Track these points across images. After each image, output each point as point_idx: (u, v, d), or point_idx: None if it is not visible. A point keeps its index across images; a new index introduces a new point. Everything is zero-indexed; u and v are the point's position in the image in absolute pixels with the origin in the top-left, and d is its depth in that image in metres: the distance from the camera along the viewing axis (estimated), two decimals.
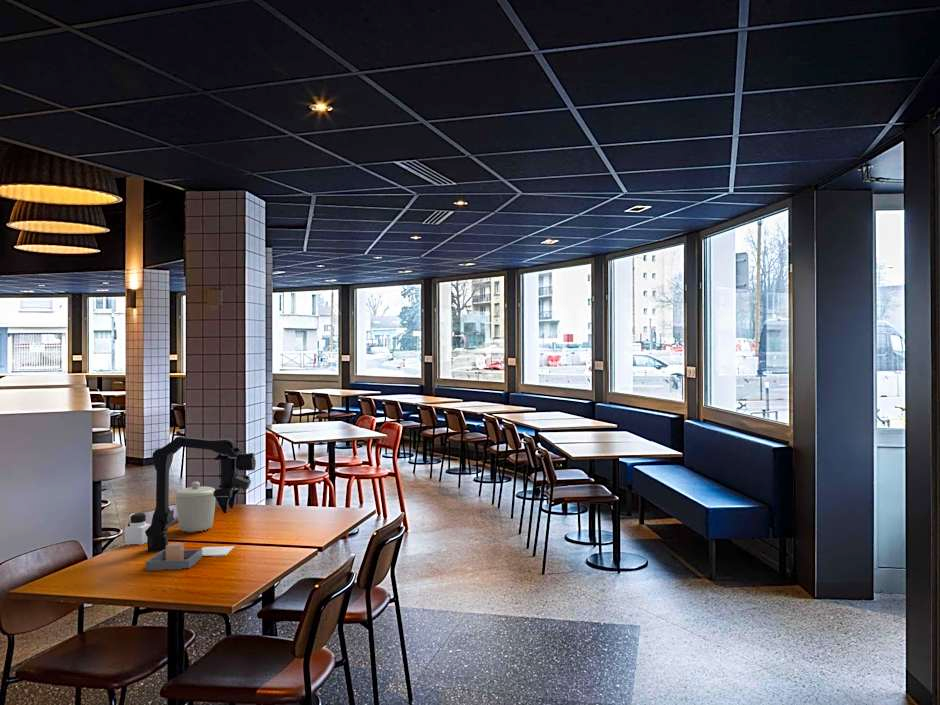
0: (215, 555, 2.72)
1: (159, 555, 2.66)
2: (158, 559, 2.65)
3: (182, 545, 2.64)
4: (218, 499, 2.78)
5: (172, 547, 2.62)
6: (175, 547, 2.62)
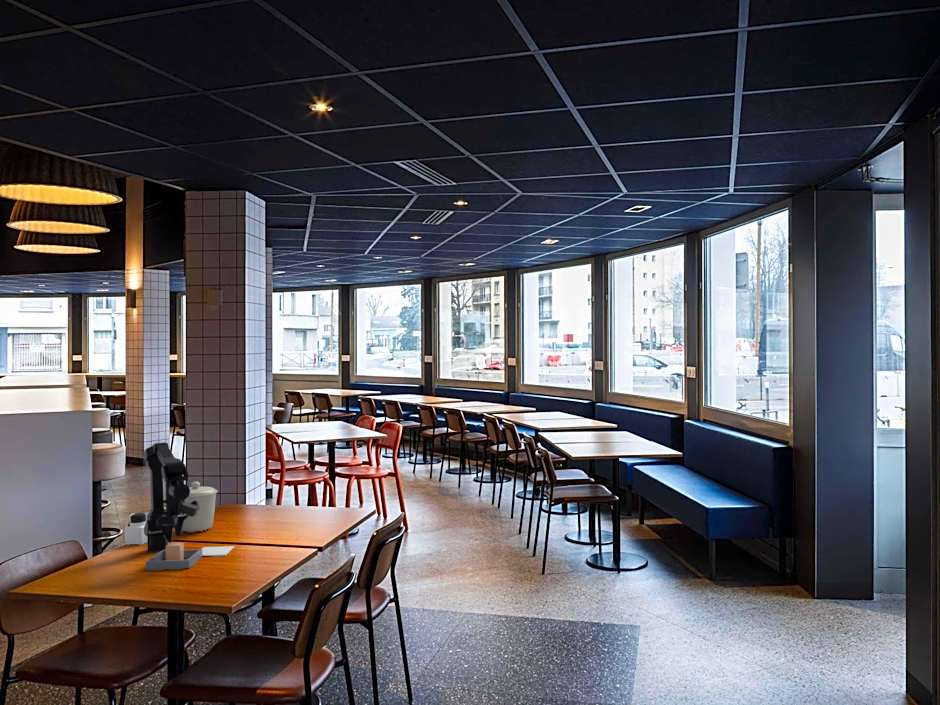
0: (215, 555, 2.72)
1: (159, 555, 2.66)
2: (158, 559, 2.65)
3: (182, 545, 2.64)
4: (162, 527, 2.57)
5: (172, 547, 2.62)
6: (175, 547, 2.62)
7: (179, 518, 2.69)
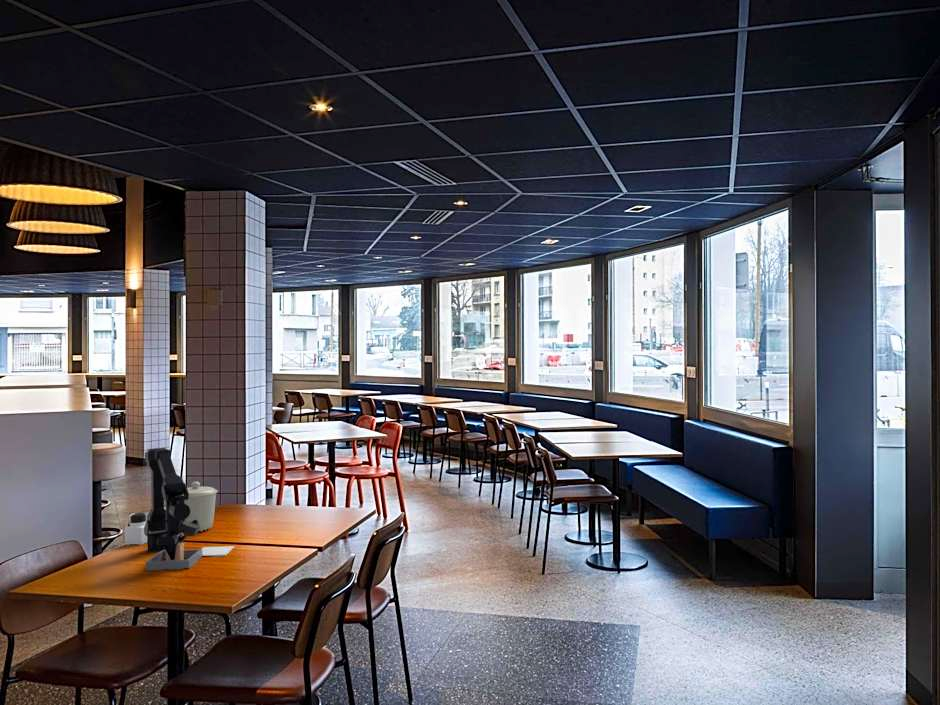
0: (215, 555, 2.72)
1: (159, 555, 2.66)
2: (158, 559, 2.65)
3: (182, 545, 2.64)
4: (165, 545, 2.59)
5: None
6: None
7: (177, 539, 2.66)
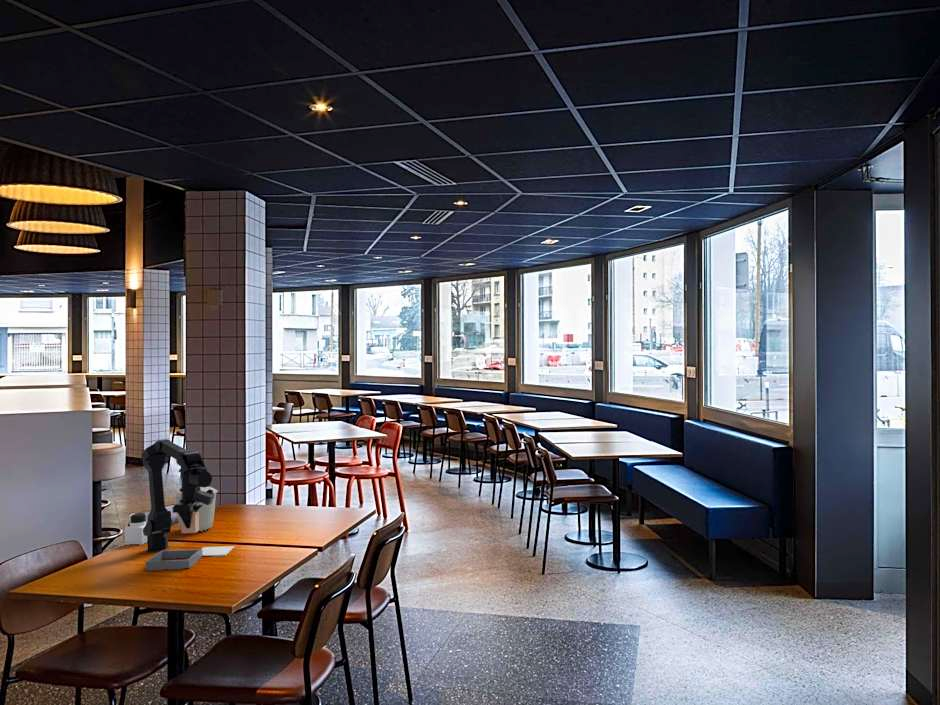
0: (215, 555, 2.72)
1: (159, 555, 2.66)
2: (158, 559, 2.65)
3: (197, 514, 2.70)
4: (180, 514, 2.65)
5: None
6: None
7: (192, 508, 2.72)
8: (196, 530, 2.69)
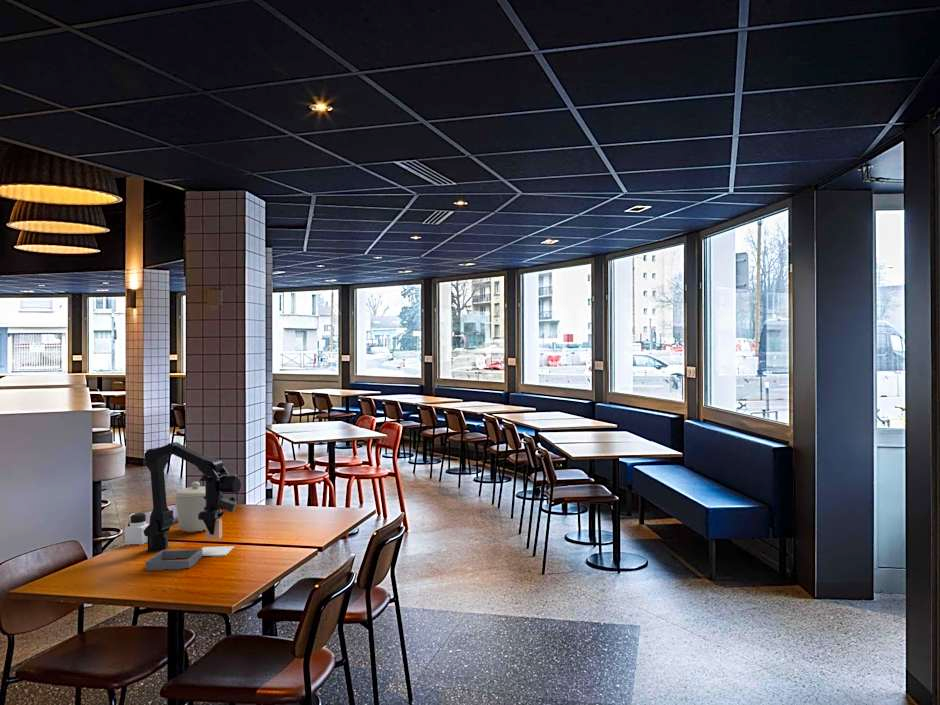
0: (215, 555, 2.72)
1: (159, 555, 2.66)
2: (158, 559, 2.65)
3: (221, 520, 2.79)
4: (205, 520, 2.74)
5: None
6: None
7: None
8: (220, 536, 2.77)
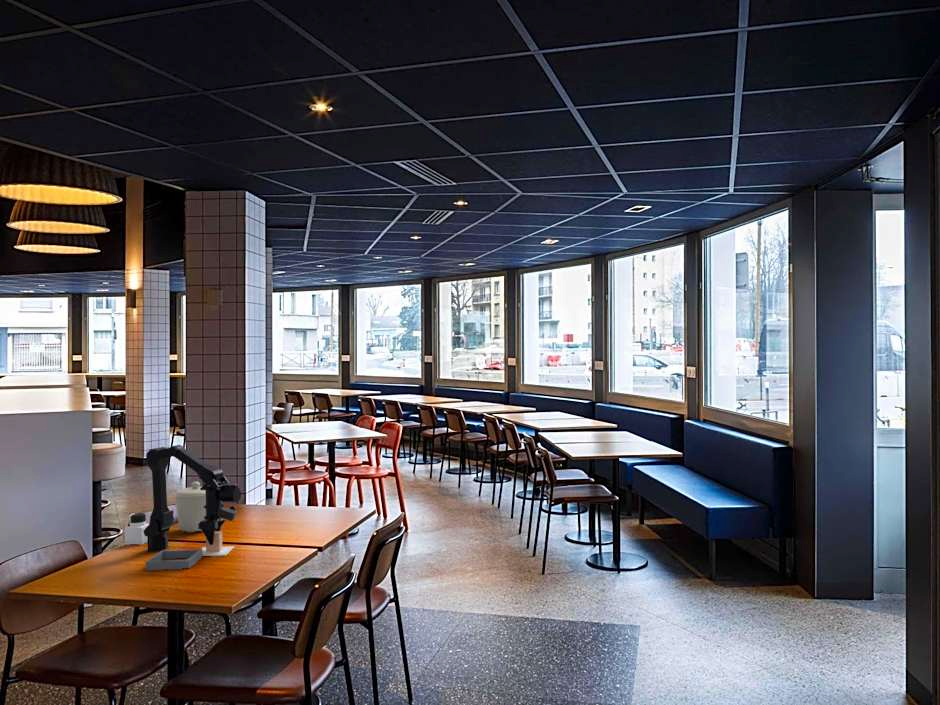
0: (215, 555, 2.72)
1: (159, 555, 2.66)
2: (158, 559, 2.65)
3: (221, 533, 2.79)
4: (204, 530, 2.73)
5: None
6: (215, 535, 2.76)
7: None
8: (220, 549, 2.77)
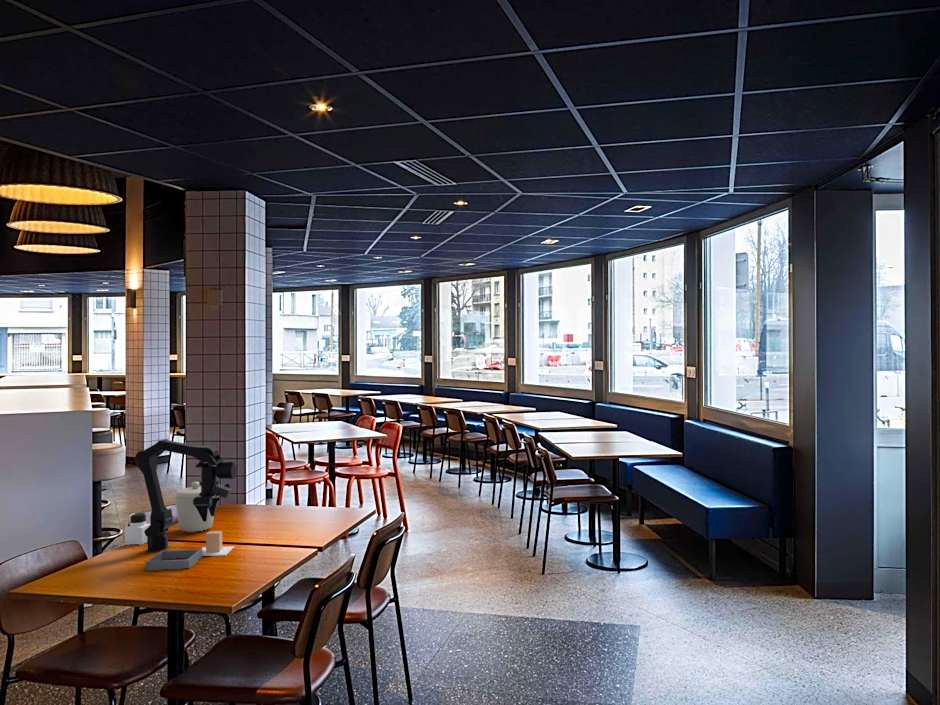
0: (215, 555, 2.72)
1: (159, 555, 2.66)
2: (158, 559, 2.65)
3: (221, 533, 2.79)
4: (198, 507, 2.76)
5: (212, 535, 2.76)
6: (215, 535, 2.76)
7: (213, 499, 2.87)
8: (220, 549, 2.77)
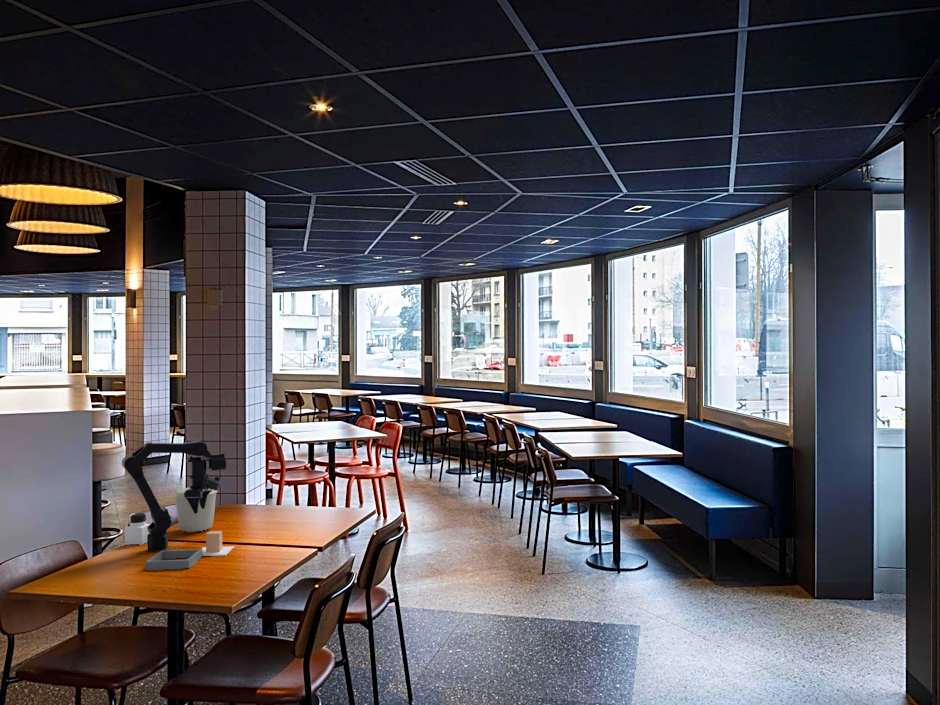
0: (215, 555, 2.72)
1: (159, 555, 2.66)
2: (158, 559, 2.65)
3: (221, 533, 2.79)
4: (189, 500, 2.86)
5: (212, 535, 2.76)
6: (215, 535, 2.76)
7: (203, 492, 2.98)
8: (220, 549, 2.77)
